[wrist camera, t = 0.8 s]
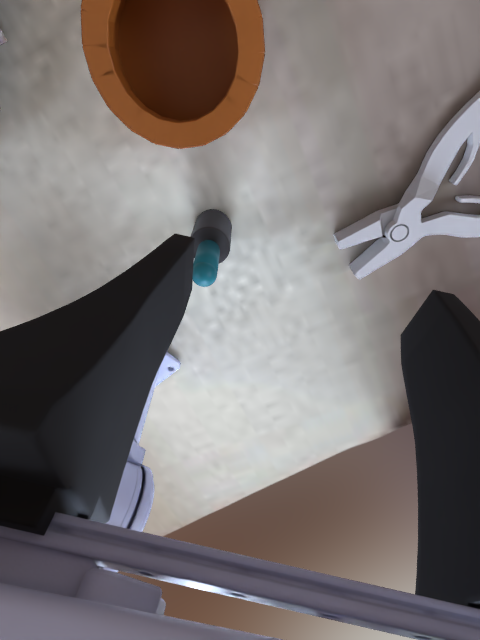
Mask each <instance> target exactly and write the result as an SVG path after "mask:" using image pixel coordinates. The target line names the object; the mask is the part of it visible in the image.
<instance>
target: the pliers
mask: <svg viewBox="0 0 480 640" xmlns="http://www.w3.org/2000/svg"><path fill="white" fill-rule="evenodd" d="M466 139H467V147H466V150H465V153H464V157H463V159H462V161H461V162H460V164H459V166H458V168H457V169H456V171H455V172H454V174H453V175H452V177H451V178H450V179H449V182H451V183H453V184H455V185H457V184H458V183H459V182H460V180H461V179H462V178H463V176H464V175H465V174H466V172H467V170H468V169H469V167H470V165H471V164H472V162H473V160H474V158H475V155H476V152H477V150H478V147H479V143H480V91H479V92H478V93H477V94H476V95H475V96H474V97H472V98H471V99H470V100H469V101H468V102H467V103H466V104H465V105H464V106H463V107H462V108H461V109H460V110H459V111H458V112H457V113H456V114H455V116H454V117H453V118H452V119H451V120H450V121H449V122H448V124H447V125H446V126H445V127H444V128H443V130H442V131H441V132H440V133H439V135H438V136H437V138H436V139H435V141H434V142H433V144H432V145H431V147H430V148H429V150H428V151H427V153H426V155H425V158H424V160H423V162H422V164H421V167H420V169H419V171H418V173H417V175H416V176H415V178H414V179H413V181H412V182H411V184H410V185H409V187H408V188H407V190H406V191H405V193H404V195H403V197H402V199H401V201H400V203H399V204H396V205H393V206H390V207H386V208H383V209H380V210H377V211H376V212H374V213H372V214H370V215H368V216H366V217H364V218H363V219H361V220H359V221H357V222H355V223H353V224H351V225H349V226H348V227H346V228H344V229H342V230H340V231H338V232H336V233H334V238H335V242H336V244H337V245H338V247H339V249H344V248H347V247H350V246H353V245H356V244H360V243H363V242H366V241H369V240H372V239H376V238H379V237H380V238H379V239H378V240H376V241H375V242H374V243H373V244H372V245H371V246H370V247H369V248H367V249H366V250H365V251H364V252H363V253H362V254H361V255H360V256H358V257H357V258H356V259H355V260H354V261H353V262H352V263H351V264H350V265H349V266H350V268H351V270H352V272H353V274H354V275H355V276H356V277H357V278H358V279H359V280H360V279H361V278H363V277H365V276H366V275H368V274H370V273H371V272H373V271H375V270H376V269H378V268H380V267H381V266H383V265H385V264H386V263H388V262H390V261H391V260H393V259H395V258H396V257H398V256H400V255H401V254H403V253H404V252H405V251H406V250H407V249H409V248H410V247H411V246H412V245H413V244H415V243H416V242H417V241H418V240H419V239H421V238H422V237H423V236H426V235H443V234H445V235H451V236H456V237H462V238H466V237H480V215H472V214H462V213H455V212H448V211H444V212H441V213H437V214H434V215H431V216H428V217H425V218H422V219H421V210H422V209H424V208H425V207H426V206H427V205H428V204H429V203H430V202H432V201H433V198H434V196H435V194H436V192H437V189H438V187H439V185H440V183H441V181H442V179H443V178H444V176H445V174H446V172H447V170H448V168H449V166H450V164H451V162H452V161H453V159H454V157H455V155H456V154H457V152H458V150H459V149H460V147H461V145H462V144H463V143H464V142H465V140H466ZM455 200H457V201H458V202H460V203H467V202H473V203H480V196H471V195H463V196H456V198H455ZM383 234H384V235H385V236H386V238H382V236H383Z"/></svg>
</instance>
